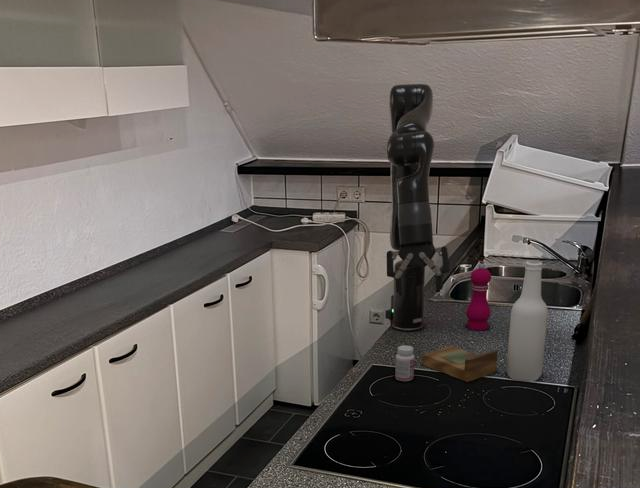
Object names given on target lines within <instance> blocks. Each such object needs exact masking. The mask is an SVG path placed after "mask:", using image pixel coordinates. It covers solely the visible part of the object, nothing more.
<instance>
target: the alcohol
mask: <svg viewBox="0 0 640 488" xmlns="http://www.w3.org/2000/svg"><path fill="white" fill-rule="evenodd" d="M543 265H544V264H543V262H542V261H540V260H527V261H526V262H525V266H524V270H525V271H524V277H523V282H522V290H521V294H520V297H519V298H518V299H517V300H516V301H515V302H513V304H512V306H511V307H512V308H511V310H510V320H509V321H510V322H509V331H508V332H509V333H508V334H509V335H508V343H507V344H508V346H507V356H506V366H505V367H506V368H505V369H506V370H505V372H506V374H507V376H508V378H510V379H513V380H515V381H520V382H534V381H537V380H539V379H540V378H541V377H542V376H543V375H542V374H543V365H544V356H545V348H546V347H545V346H546V345H545V344H546V338H547V337H546V336H547V327H548V318H549V310H548V305H547V304H546V302H545V301H544V300H543V297H542V270H543Z"/></svg>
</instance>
